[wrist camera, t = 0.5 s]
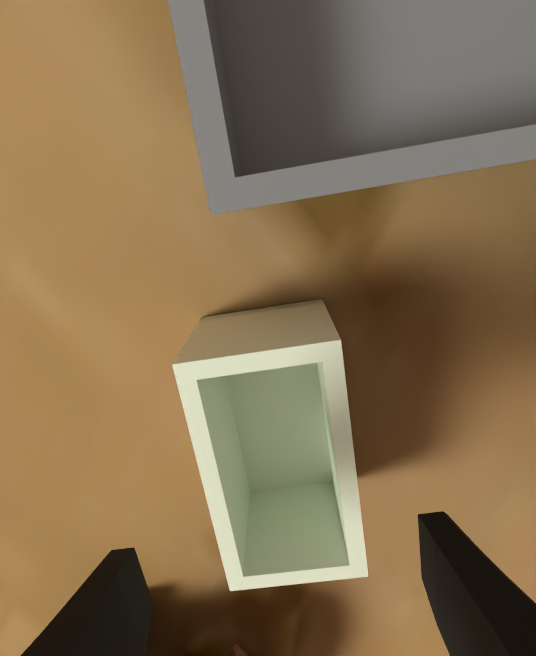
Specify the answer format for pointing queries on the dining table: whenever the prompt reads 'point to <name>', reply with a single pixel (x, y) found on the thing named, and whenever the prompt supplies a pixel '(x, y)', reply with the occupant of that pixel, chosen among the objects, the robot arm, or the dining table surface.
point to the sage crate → (274, 444)
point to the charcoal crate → (353, 92)
